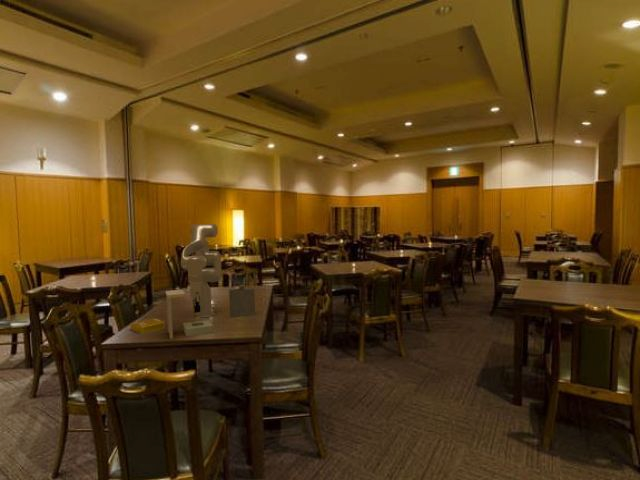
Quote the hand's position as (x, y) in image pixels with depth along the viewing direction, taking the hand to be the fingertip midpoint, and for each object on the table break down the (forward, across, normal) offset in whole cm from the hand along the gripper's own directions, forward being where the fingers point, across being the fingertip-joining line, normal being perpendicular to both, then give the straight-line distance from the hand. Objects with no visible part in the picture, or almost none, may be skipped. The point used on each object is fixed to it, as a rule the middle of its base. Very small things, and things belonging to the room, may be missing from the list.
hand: (196, 311), depth 216 cm
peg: (+4, 0, 0) cm, 4 cm away
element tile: (+12, -21, -25) cm, 35 cm away
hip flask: (+11, -22, +31) cm, 40 cm away
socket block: (+12, -1, -4) cm, 12 cm away
